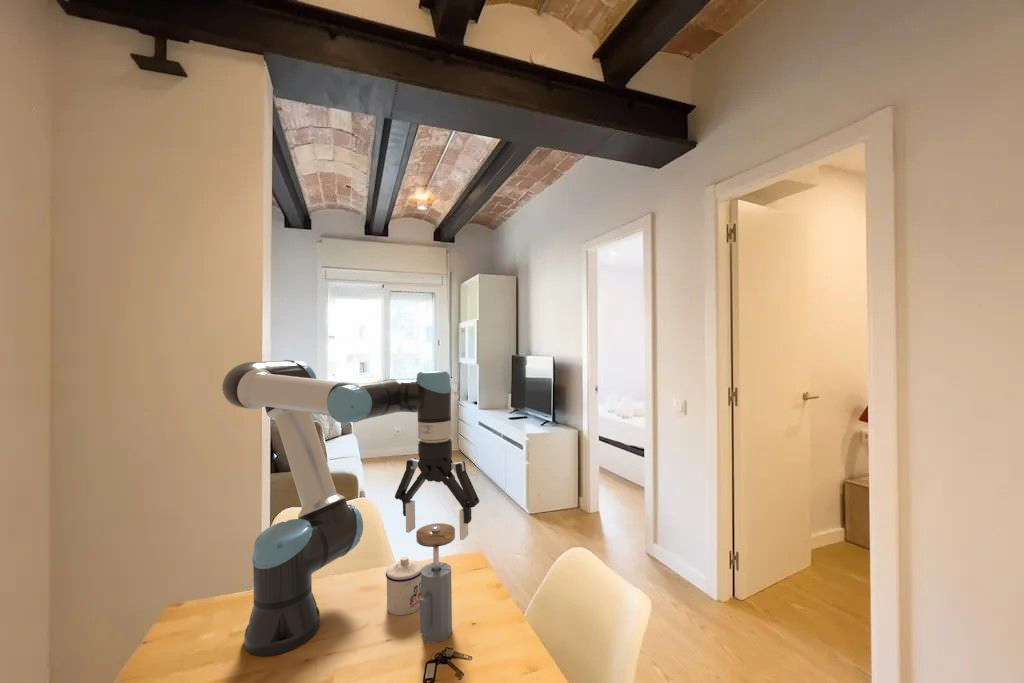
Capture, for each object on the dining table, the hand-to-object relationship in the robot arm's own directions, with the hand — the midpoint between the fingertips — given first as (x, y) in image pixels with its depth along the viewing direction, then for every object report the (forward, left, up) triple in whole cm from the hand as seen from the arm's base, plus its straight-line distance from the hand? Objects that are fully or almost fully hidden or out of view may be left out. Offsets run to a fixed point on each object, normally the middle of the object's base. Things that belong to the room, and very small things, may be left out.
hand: (436, 533), depth 97 cm
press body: (0, -1, -22) cm, 22 cm away
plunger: (0, 0, -13) cm, 13 cm away
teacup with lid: (-13, +8, -22) cm, 27 cm away
